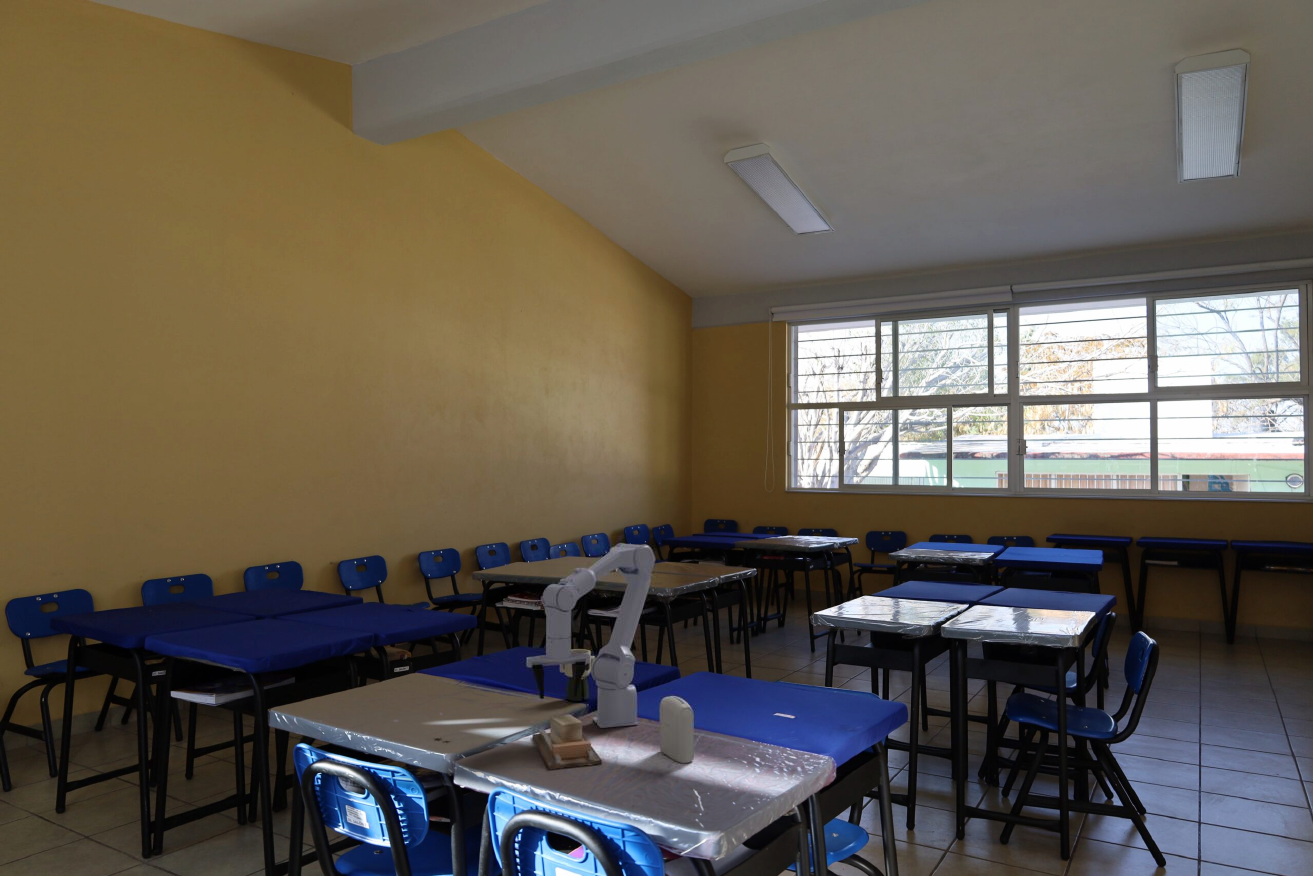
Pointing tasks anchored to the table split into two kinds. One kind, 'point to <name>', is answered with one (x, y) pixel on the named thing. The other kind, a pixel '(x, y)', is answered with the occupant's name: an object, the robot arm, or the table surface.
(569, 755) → the tan wooden bar
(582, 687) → the character mug
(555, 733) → the block
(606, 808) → the table surface
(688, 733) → the photo printer
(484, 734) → the table surface
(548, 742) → the rail
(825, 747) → the table surface
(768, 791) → the table surface
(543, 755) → the mounting board
